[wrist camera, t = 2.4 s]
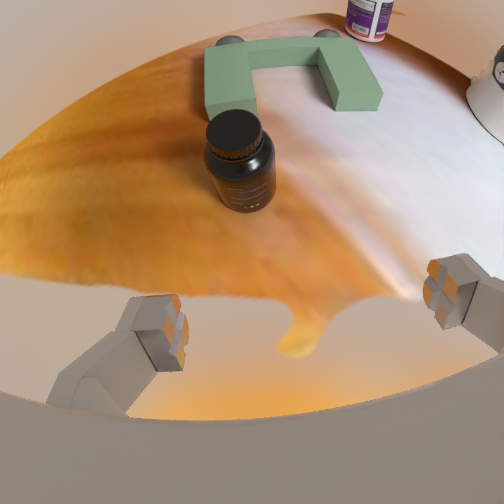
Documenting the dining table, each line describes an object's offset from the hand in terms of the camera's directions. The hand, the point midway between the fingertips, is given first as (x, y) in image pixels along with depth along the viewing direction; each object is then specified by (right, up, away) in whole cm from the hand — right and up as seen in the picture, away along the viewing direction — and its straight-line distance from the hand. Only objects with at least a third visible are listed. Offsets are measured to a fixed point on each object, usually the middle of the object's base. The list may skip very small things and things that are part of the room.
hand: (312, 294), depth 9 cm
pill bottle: (+20, +44, +33) cm, 58 cm away
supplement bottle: (-2, +9, +26) cm, 28 cm away
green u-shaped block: (+4, +27, +30) cm, 41 cm away
